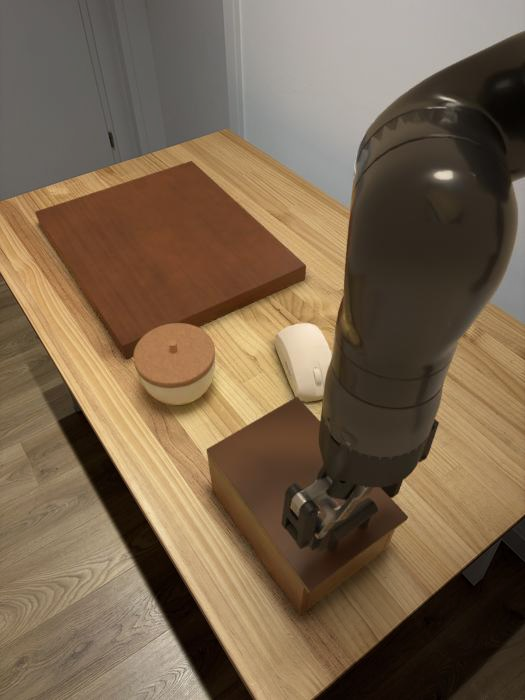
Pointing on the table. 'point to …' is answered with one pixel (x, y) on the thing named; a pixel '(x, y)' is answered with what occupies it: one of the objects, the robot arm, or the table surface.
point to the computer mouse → (304, 359)
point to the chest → (273, 557)
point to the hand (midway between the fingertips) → (351, 514)
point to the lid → (301, 467)
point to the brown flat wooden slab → (166, 252)
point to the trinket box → (175, 362)
